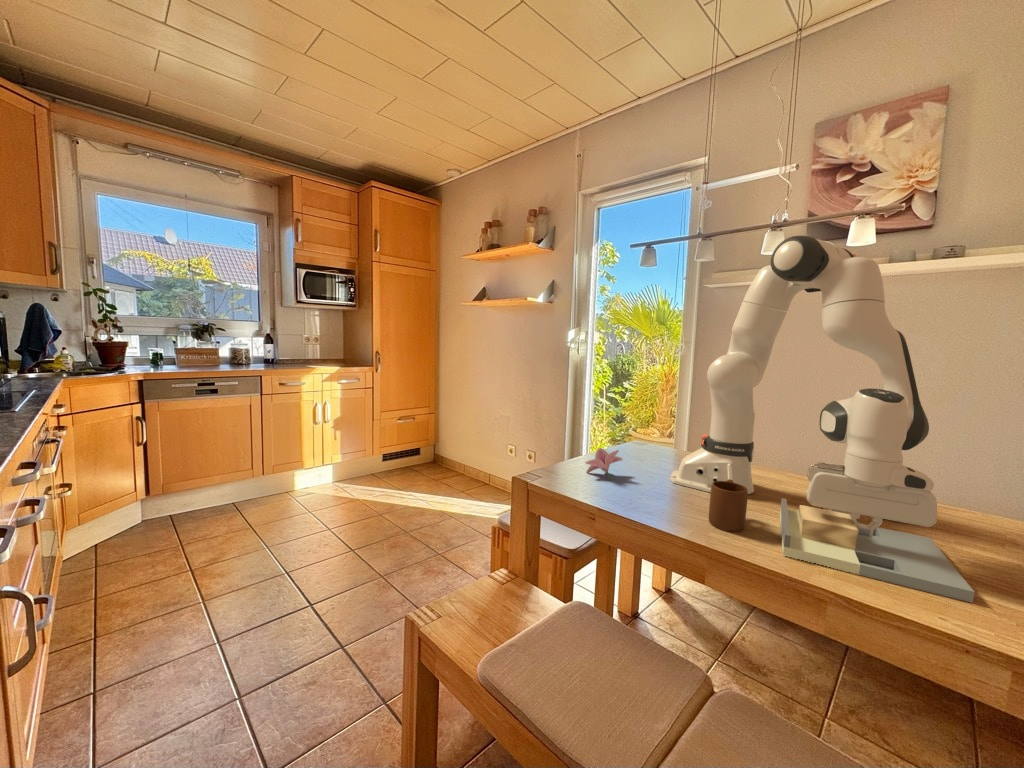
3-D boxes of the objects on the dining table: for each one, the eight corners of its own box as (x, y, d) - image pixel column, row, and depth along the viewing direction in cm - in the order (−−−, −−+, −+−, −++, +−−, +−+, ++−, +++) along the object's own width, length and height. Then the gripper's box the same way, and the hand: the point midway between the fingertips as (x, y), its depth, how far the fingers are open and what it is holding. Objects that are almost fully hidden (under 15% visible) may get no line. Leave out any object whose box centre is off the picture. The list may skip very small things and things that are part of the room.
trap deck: (782, 556, 85) (785, 534, 84) (779, 515, 104) (781, 498, 104) (972, 603, 71) (977, 577, 70) (928, 546, 90) (931, 526, 90)
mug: (710, 509, 107) (713, 473, 106) (744, 516, 103) (747, 479, 102) (706, 527, 96) (710, 487, 95) (744, 535, 93) (748, 494, 92)
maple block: (800, 537, 89) (803, 519, 88) (797, 521, 96) (799, 504, 96) (855, 549, 84) (857, 530, 84) (847, 531, 92) (849, 514, 91)
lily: (628, 478, 132) (619, 448, 135) (628, 475, 121) (619, 442, 124) (590, 487, 134) (582, 457, 137) (587, 484, 123) (579, 452, 126)
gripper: (810, 464, 88) (803, 527, 89) (945, 484, 77) (934, 555, 79) (807, 457, 93) (801, 517, 95) (933, 475, 83) (924, 542, 84)
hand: (863, 534), depth 87 cm, fingers closed
